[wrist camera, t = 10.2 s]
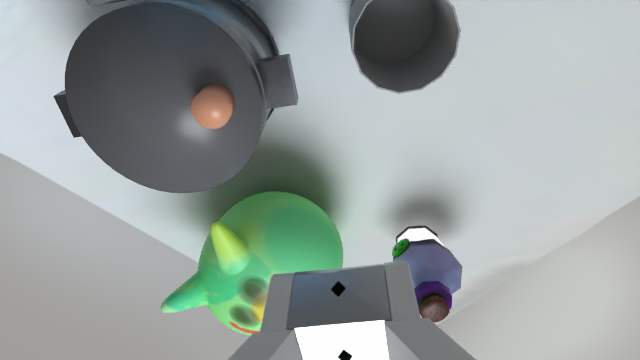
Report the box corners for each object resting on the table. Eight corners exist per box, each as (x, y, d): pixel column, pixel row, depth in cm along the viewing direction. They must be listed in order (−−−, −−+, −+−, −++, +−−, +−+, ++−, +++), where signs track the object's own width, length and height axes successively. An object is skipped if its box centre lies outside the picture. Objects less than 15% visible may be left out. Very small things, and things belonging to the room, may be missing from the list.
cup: (336, -5, 41) (335, 11, 32) (418, -44, 39) (441, -39, 30) (367, 75, 44) (374, 108, 36) (444, 43, 42) (471, 70, 34)
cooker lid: (30, -7, 32) (-6, 0, 29) (230, -45, 30) (217, -43, 27) (122, 192, 41) (102, 214, 38) (282, 171, 39) (276, 193, 36)
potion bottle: (398, 207, 52) (412, 274, 42) (461, 225, 53) (491, 294, 43) (373, 258, 57) (382, 330, 46) (433, 274, 58) (454, 347, 47)
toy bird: (299, 295, 60) (288, 390, 48) (189, 247, 57) (145, 336, 44) (366, 204, 52) (375, 290, 40) (243, 142, 49) (209, 214, 36)
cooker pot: (78, 5, 42) (10, 22, 33) (284, -33, 40) (269, -26, 31) (140, 153, 50) (98, 198, 41) (314, 129, 48) (309, 171, 39)
